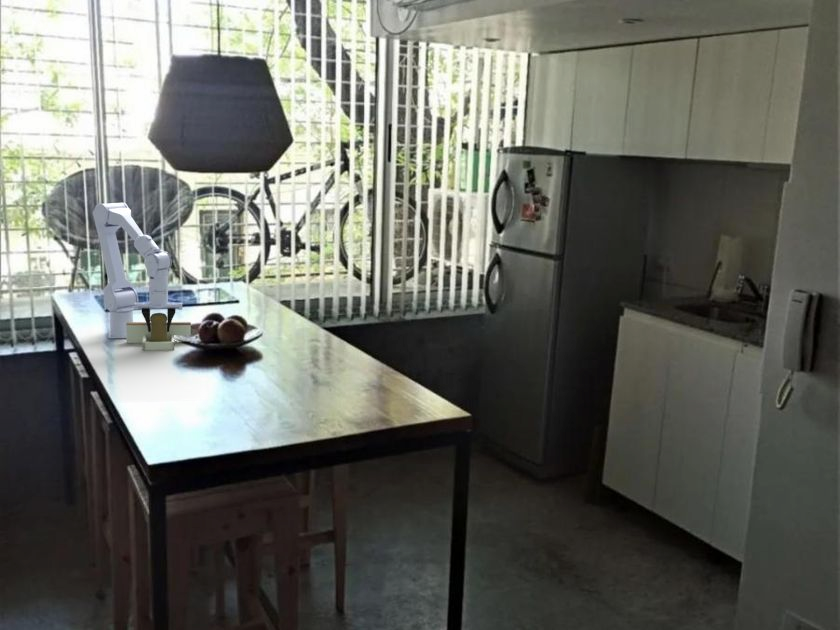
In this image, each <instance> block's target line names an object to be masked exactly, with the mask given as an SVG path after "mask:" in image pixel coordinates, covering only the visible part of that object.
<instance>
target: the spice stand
mask: <svg viewBox="0 0 840 630" xmlns="http://www.w3.org/2000/svg"><path fill="white" fill-rule="evenodd" d="M150 324H151V329H152V323H151V321H150ZM165 324H166V330H167V322H166V323H165ZM191 325H192V324H191V321H171V324H170V328H169V332H167V337H168V342H150V338H151V332H148V326H147V323H146V321H141V322H140V321H133V322H127V323H126V329H127V338H126V343H127V344H139V343H140V344H142V351H173V350H174V351H175V343H178V342H177V341H175V340H174V335H192V334H191V332H192V329H191V327H192V326H191Z"/></svg>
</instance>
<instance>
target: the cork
mask: <svg viewBox="0 0 840 630" xmlns="http://www.w3.org/2000/svg"><path fill="white" fill-rule="evenodd" d="M150 322H151V323H152V329H151V338H150V342H168V337H167V330H166V324H165V323H166V322H167V313H163V312H156V313H152V314H150Z"/></svg>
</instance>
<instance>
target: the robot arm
mask: <svg viewBox="0 0 840 630" xmlns="http://www.w3.org/2000/svg"><path fill="white" fill-rule="evenodd" d="M92 216H93V221H94V225H95V229H96V232H97V236H98V242H99V245H100V249H101V254H102V257H103V261H104V265H105V266H104V267H105V271H106V275H107V279H108V283H107V284H106V286H105V287H104V288H103V303H104V306H105V308H106V309H107V311H109V333H108V336H107V338H108V339H127V329H126V323H127V322H134V310H135V311H138V310H141V315H142V316H143V318H144V322H146V323H147V326H148V332H151V324H150V322H151V321H150V317H151V310H167V313H166V316H167V332H169V328H170V324H171V322H173V318H174V316H175V314H176V310H179V311H183V302H174V301H169V269H170V268H172V265H173V264H172V263H173V260H172V256H171V255H170V253H169V252H168V251H164V250H163V249H161V248H160V247H159V246H158V245H157V244H156V242H155V241H154V240H153V238H152V237H151V236H150V235H149V234H148V235H147V234H143V231H142V230H141V228H140V227H139V226H138V224H137V223H136V221H135V219H134V218H133V217H132V209H130V208H129V206H128V204H127V203H125V202H112V203H109V202H108V203H98V204H96V205H95V207H94V209H93V212H92ZM120 228H122V229H123V231H125V233H126V234H127V235H128V236H129V237H130V238H131V239H132V240H133V241H134V242H133V247H134V248H135V249H136V250H137V252H138V253H139V254H140V255H141V256H142V258H143V259H144V266H145V268H146V270H147V271H146V272H147V276H148V287H149V288H148V296H149V297H148V298H149V299H148V301H144V302H143V301H142V302H139V295H138V293H137V291H136V289H135V285H134V283H132V282H131V281H129V280H127V278H126V274H125V273H126V272H125V269H124V265H123V260H122V256H121V252H120V248H119V243H118V238H117V235H116V234H117V231H118V230H119V229H120Z"/></svg>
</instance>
